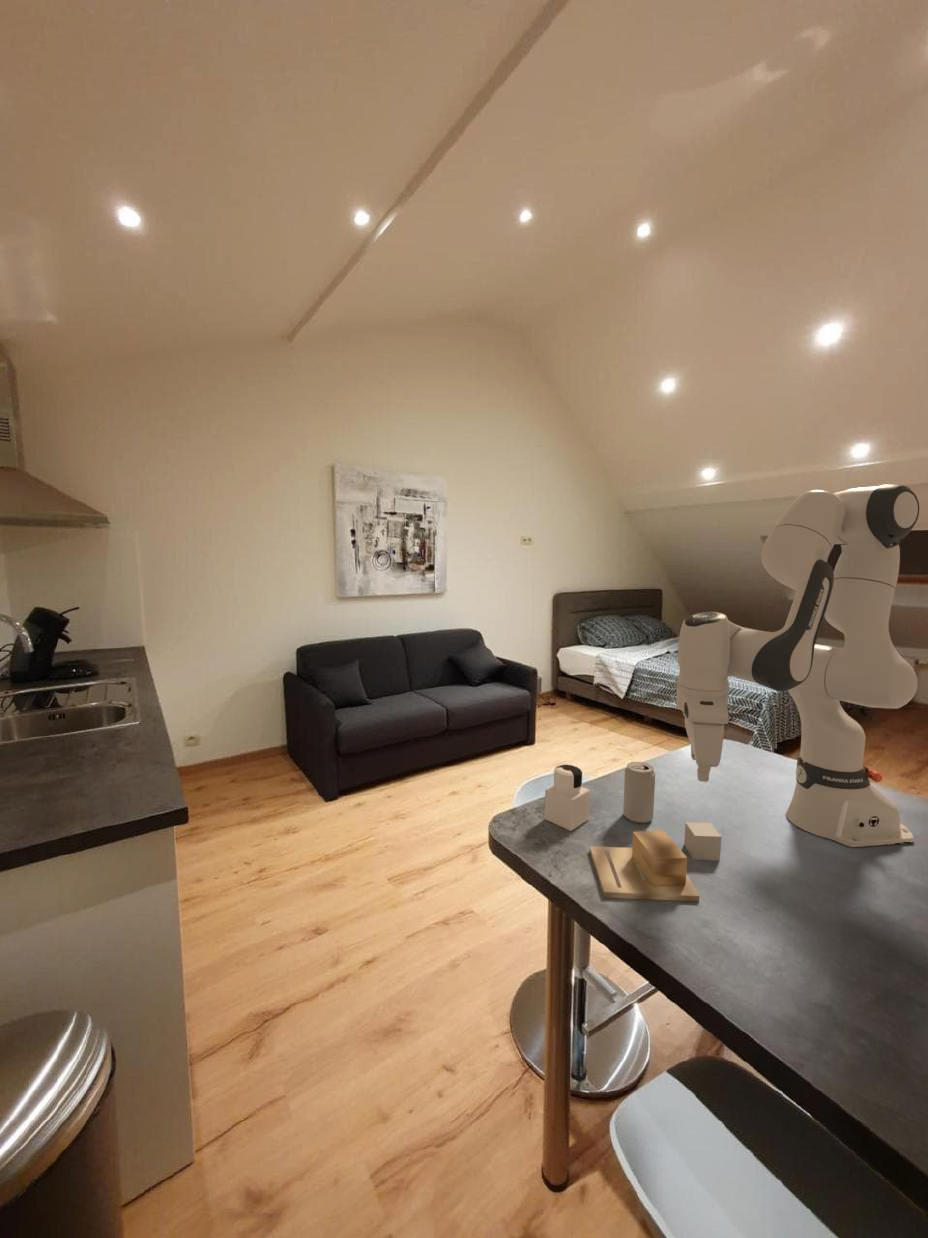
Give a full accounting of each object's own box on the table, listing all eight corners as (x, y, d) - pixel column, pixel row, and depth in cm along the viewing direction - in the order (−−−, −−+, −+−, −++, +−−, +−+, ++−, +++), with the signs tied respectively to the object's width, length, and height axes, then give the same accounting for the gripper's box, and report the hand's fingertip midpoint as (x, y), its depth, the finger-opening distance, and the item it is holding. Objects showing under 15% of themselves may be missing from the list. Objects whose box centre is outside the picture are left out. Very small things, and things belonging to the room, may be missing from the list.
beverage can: (655, 826, 114) (657, 773, 112) (624, 823, 115) (626, 771, 113) (650, 812, 120) (653, 761, 118) (621, 809, 121) (623, 759, 119)
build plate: (672, 854, 103) (672, 849, 103) (699, 901, 89) (699, 895, 89) (589, 851, 104) (589, 846, 104) (603, 897, 90) (604, 891, 90)
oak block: (662, 854, 101) (663, 830, 101) (685, 884, 92) (687, 857, 92) (631, 856, 101) (633, 831, 100) (652, 886, 92) (654, 859, 91)
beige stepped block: (562, 808, 121) (564, 759, 120) (589, 820, 116) (591, 768, 115) (543, 819, 116) (545, 768, 115) (571, 832, 111) (572, 778, 110)
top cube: (709, 846, 106) (710, 823, 106) (719, 860, 101) (721, 836, 101) (684, 845, 107) (685, 822, 106) (693, 860, 102) (694, 835, 101)
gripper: (678, 683, 109) (676, 746, 111) (690, 716, 90) (687, 791, 92) (711, 684, 107) (708, 749, 110) (730, 718, 88) (727, 795, 90)
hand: (699, 768), depth 101 cm, fingers open, 8 cm apart
